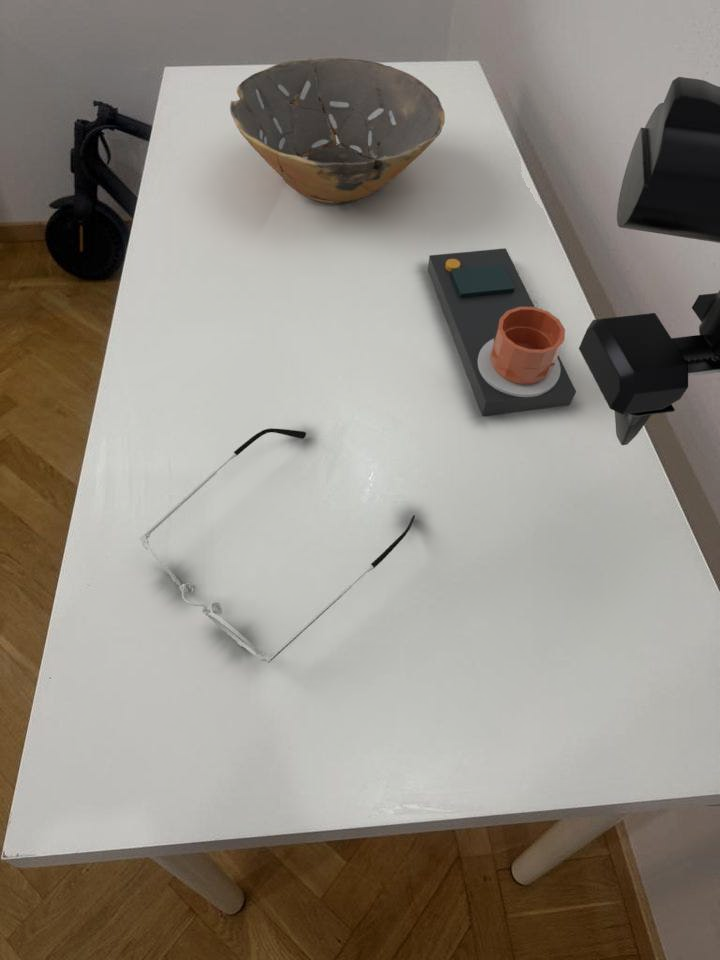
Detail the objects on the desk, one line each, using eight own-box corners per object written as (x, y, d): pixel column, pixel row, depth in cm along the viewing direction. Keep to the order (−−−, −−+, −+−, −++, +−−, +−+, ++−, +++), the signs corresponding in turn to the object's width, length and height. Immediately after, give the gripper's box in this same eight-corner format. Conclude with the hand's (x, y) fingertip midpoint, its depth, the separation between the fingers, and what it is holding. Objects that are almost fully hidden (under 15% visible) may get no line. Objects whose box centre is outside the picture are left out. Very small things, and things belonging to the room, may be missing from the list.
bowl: (457, 232, 77) (471, 151, 69) (253, 255, 74) (243, 172, 65) (405, 125, 91) (412, 47, 82) (231, 140, 87) (220, 60, 79)
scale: (570, 405, 62) (578, 387, 60) (482, 416, 61) (487, 398, 59) (502, 262, 74) (507, 243, 72) (427, 269, 73) (430, 250, 71)
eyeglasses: (131, 558, 52) (113, 528, 47) (294, 427, 60) (291, 391, 56) (267, 693, 46) (260, 672, 42) (427, 528, 54) (435, 496, 50)
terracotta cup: (552, 347, 63) (566, 312, 59) (549, 392, 60) (563, 358, 56) (492, 336, 64) (502, 301, 60) (485, 380, 60) (495, 346, 57)
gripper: (726, 382, 28) (603, 548, 41) (1083, 336, 30) (859, 507, 43) (623, 228, 34) (544, 415, 47) (927, 200, 36) (772, 386, 49)
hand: (679, 432), depth 46 cm, fingers open, 9 cm apart
